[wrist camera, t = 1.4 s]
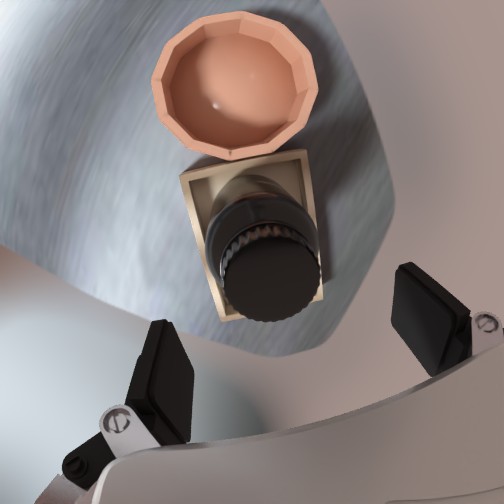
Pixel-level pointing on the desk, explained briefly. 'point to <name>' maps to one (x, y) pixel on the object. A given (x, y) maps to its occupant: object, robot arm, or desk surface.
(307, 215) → the supplement bottle
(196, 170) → the tray
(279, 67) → the bowl
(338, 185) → the desk surface
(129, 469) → the robot arm
